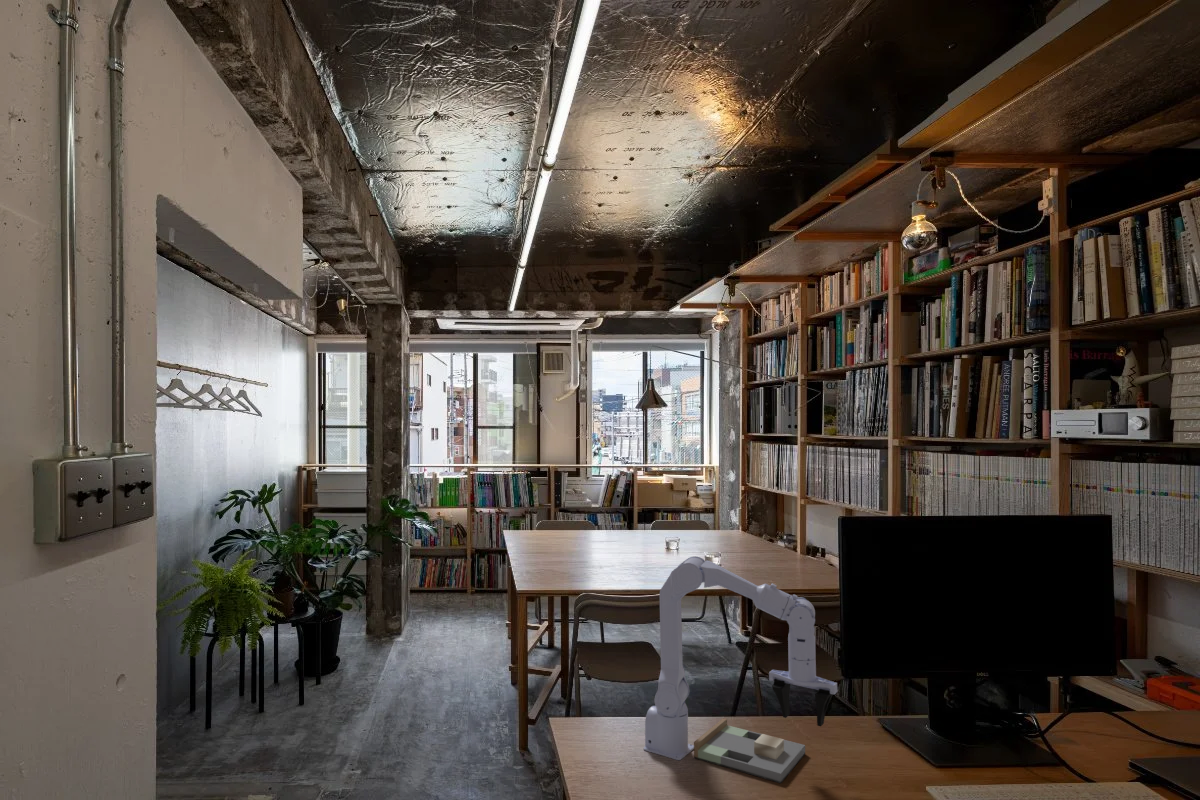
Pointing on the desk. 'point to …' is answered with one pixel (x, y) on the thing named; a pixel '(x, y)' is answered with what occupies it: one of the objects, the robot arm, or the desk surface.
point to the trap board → (745, 752)
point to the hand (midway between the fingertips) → (803, 720)
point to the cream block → (769, 746)
